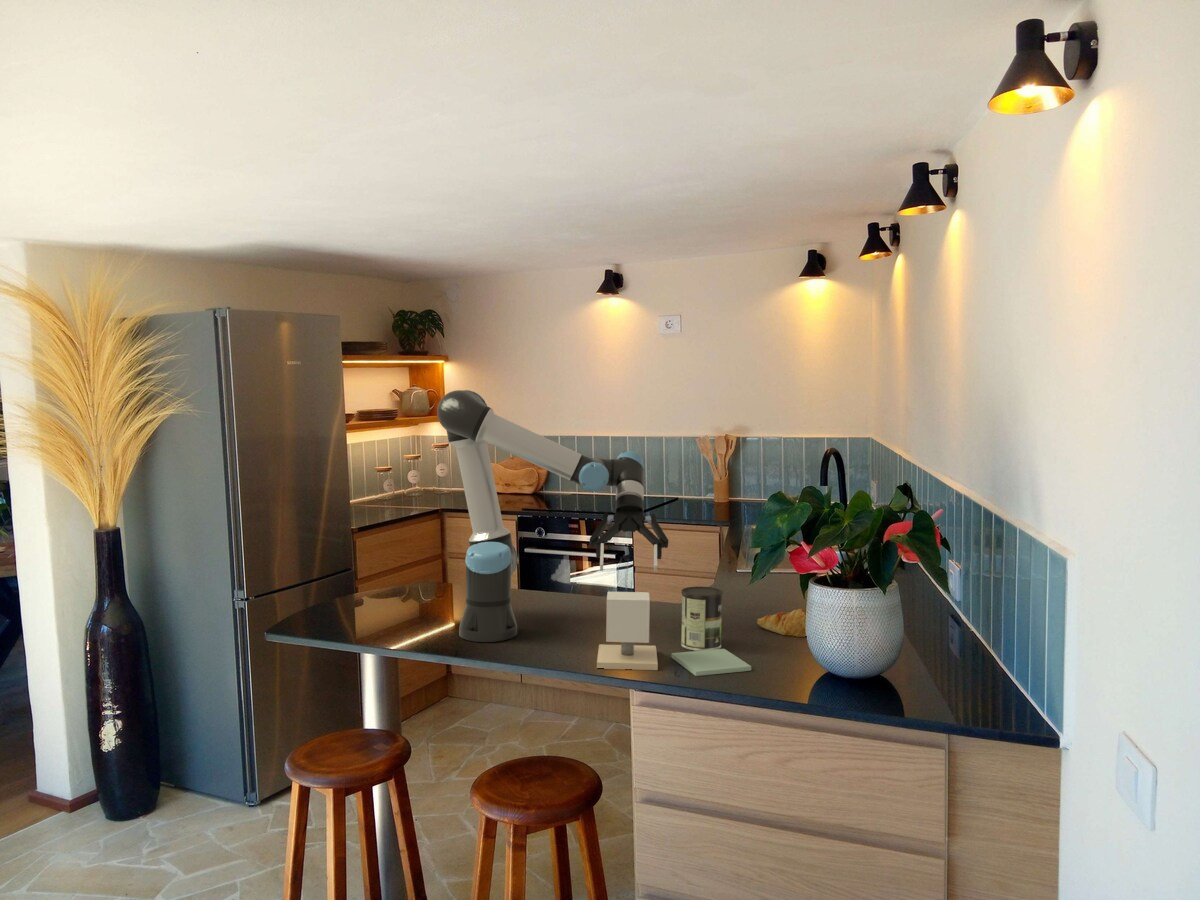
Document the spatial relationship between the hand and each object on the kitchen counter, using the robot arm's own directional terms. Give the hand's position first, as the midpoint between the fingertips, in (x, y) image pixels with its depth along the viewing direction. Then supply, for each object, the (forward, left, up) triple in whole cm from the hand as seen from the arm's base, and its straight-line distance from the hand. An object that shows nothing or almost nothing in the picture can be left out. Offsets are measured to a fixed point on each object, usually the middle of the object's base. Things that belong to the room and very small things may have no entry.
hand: (628, 568), depth 208 cm
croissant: (+48, -1, -20) cm, 52 cm away
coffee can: (+18, -5, -20) cm, 27 cm away
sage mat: (+14, -19, -20) cm, 31 cm away
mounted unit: (-4, -11, -20) cm, 23 cm away
